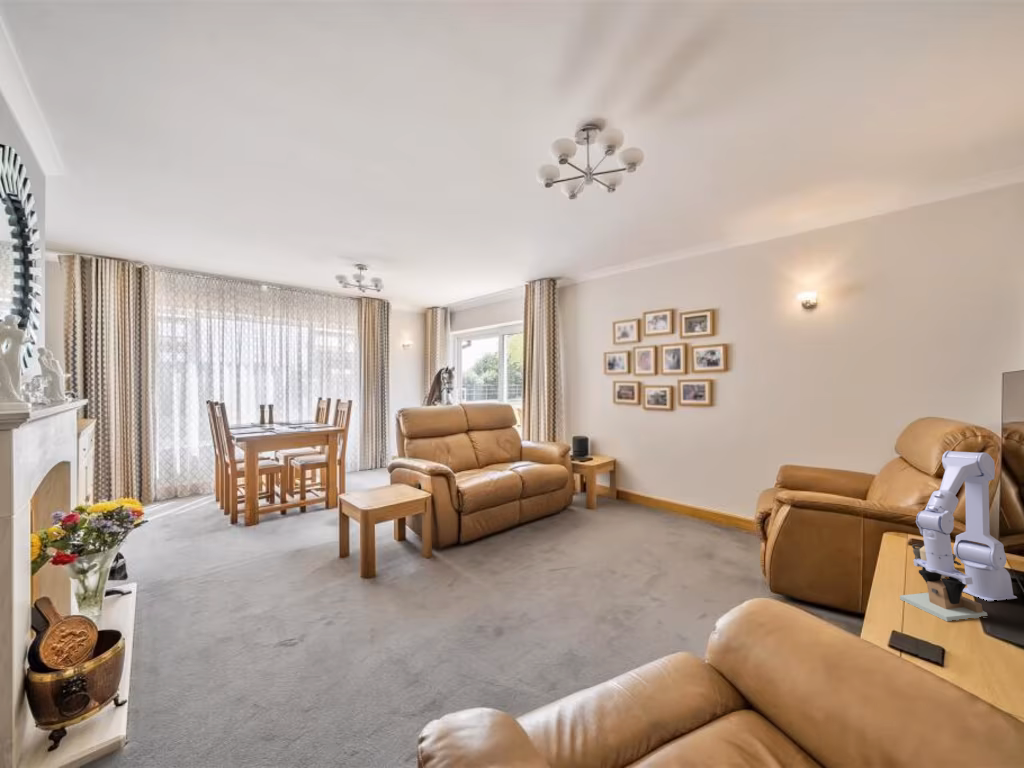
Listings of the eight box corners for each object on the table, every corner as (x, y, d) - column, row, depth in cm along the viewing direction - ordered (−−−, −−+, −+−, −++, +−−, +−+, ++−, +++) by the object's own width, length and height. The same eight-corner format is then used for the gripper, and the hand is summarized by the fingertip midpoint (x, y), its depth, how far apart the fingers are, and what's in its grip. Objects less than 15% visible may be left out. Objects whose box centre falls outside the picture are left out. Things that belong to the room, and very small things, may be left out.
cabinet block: (947, 600, 125) (944, 579, 125) (963, 607, 120) (960, 586, 120) (927, 602, 124) (925, 581, 125) (944, 609, 120) (941, 588, 120)
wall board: (936, 595, 130) (935, 584, 130) (987, 617, 116) (985, 604, 117) (900, 599, 129) (898, 588, 130) (947, 621, 116) (945, 609, 116)
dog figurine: (914, 566, 151) (911, 545, 152) (915, 561, 155) (912, 541, 156) (962, 573, 143) (959, 551, 143) (961, 568, 147) (958, 546, 147)
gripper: (902, 545, 130) (908, 590, 129) (952, 562, 116) (959, 612, 115) (923, 543, 130) (929, 587, 130) (976, 560, 116) (983, 610, 115)
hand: (945, 599), depth 122 cm, fingers closed on cabinet block, 4 cm apart
